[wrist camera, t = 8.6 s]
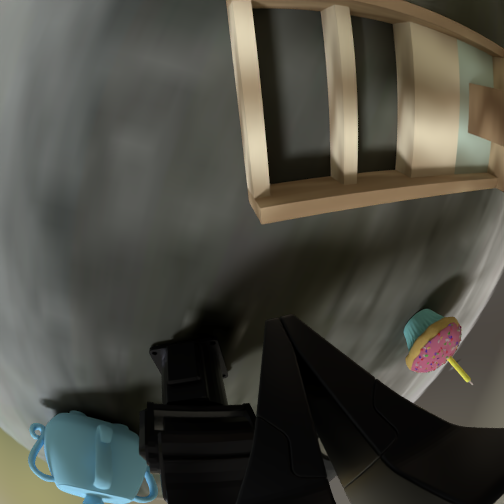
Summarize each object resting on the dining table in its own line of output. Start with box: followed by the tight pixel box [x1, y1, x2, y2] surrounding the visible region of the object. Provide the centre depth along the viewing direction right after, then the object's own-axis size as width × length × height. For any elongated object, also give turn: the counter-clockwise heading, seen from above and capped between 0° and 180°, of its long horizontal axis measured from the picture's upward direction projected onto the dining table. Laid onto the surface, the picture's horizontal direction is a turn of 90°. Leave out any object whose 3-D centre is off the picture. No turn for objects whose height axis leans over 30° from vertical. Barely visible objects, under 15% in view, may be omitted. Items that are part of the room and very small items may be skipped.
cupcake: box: [404, 309, 473, 385], centre depth 28 cm, size 9×8×12 cm
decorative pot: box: [28, 410, 158, 504], centre depth 26 cm, size 16×16×14 cm
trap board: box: [226, 0, 504, 224], centre depth 15 cm, size 14×25×5 cm, turn 96°
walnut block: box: [468, 83, 504, 147], centre depth 15 cm, size 4×4×4 cm
